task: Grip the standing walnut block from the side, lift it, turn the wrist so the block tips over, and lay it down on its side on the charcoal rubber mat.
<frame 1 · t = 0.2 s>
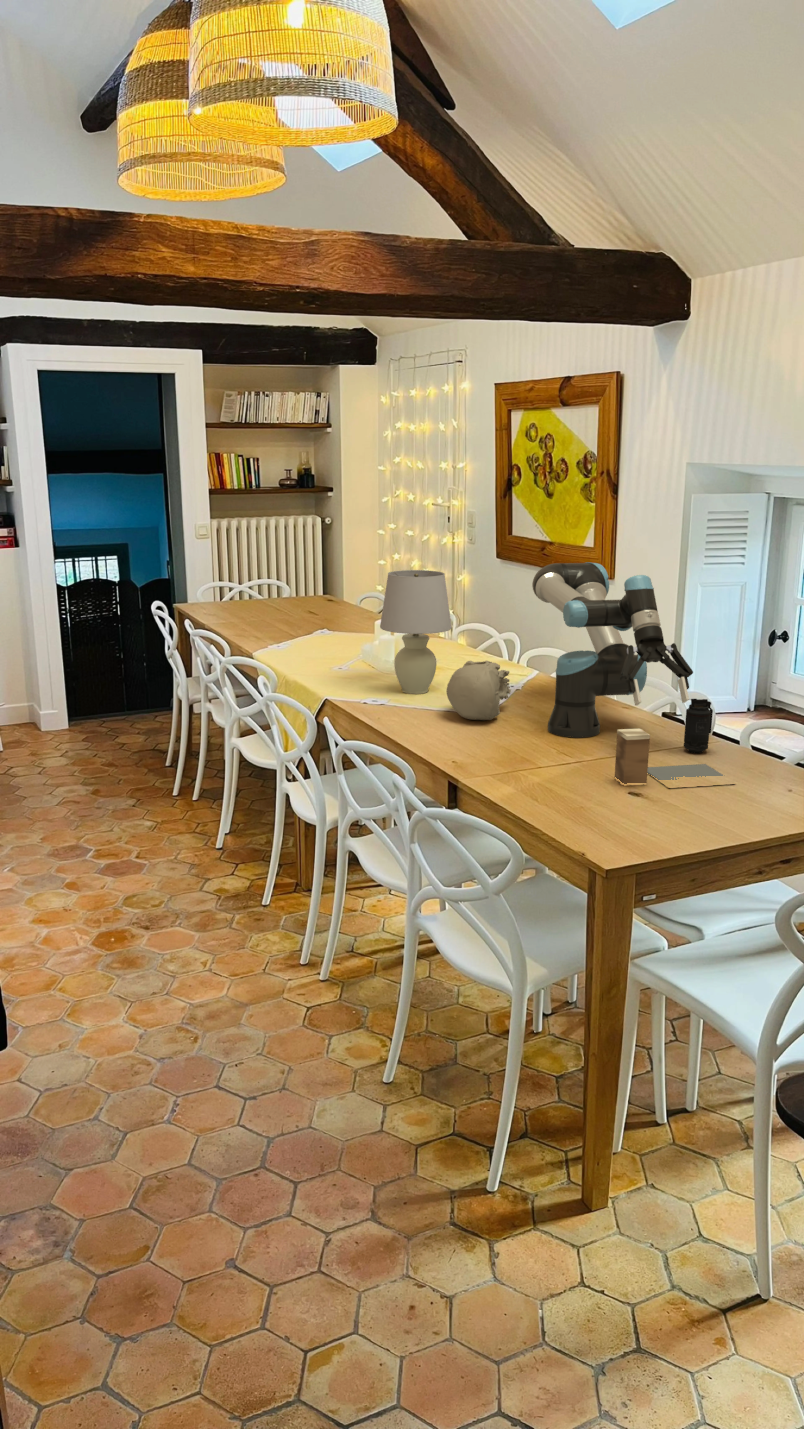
hand: (662, 702, 285), 15 cm above the table, tool tilted 35°, fingers open, 13 cm apart
lamp: (415, 691, 361), on the table
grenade: (696, 752, 294), on the table
block: (630, 782, 267), on the table
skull: (477, 716, 330), on the table
mat: (687, 777, 271), on the table
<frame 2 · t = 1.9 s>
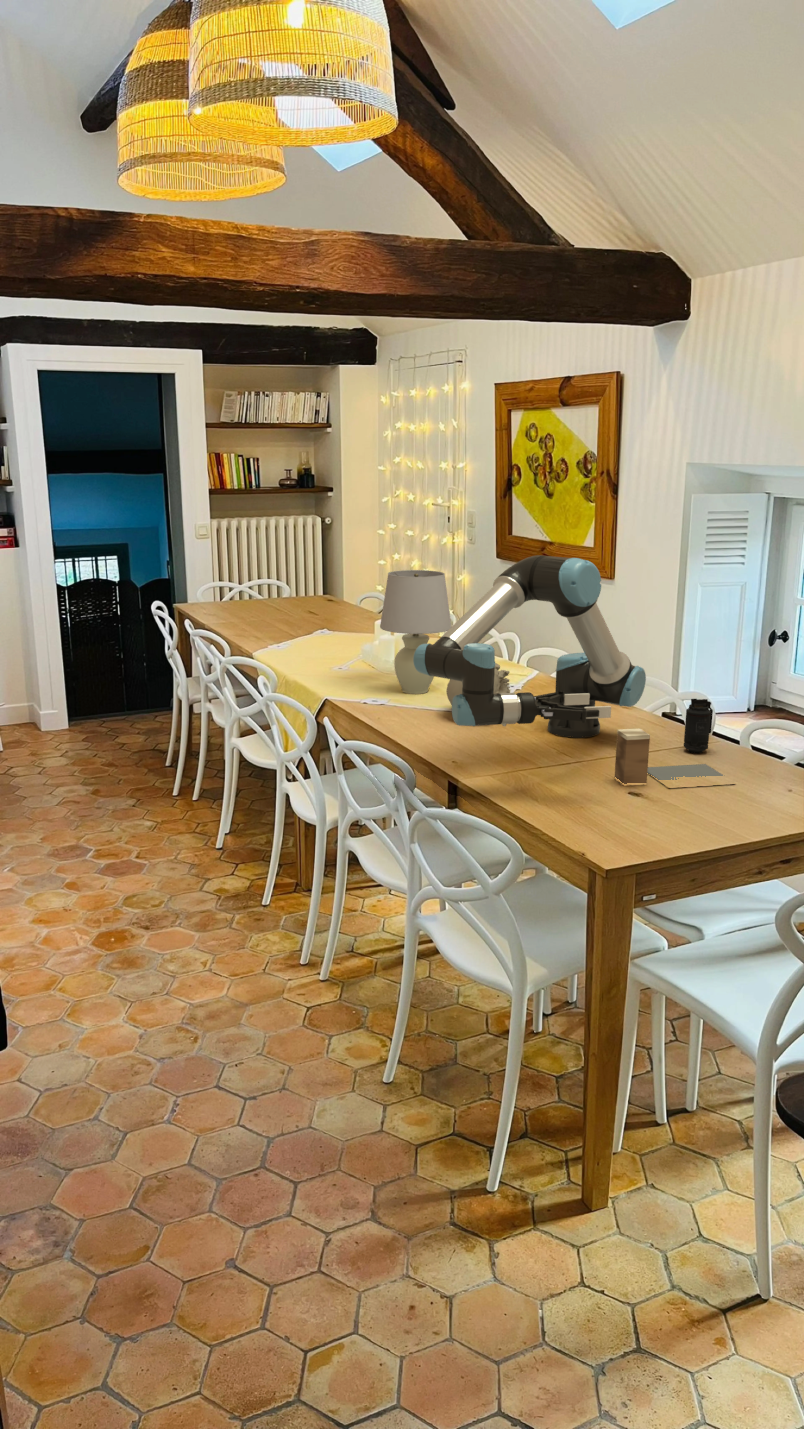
hand: (599, 705, 260), 20 cm above the table, tool horizontal, fingers open, 13 cm apart
nothing on the table moved.
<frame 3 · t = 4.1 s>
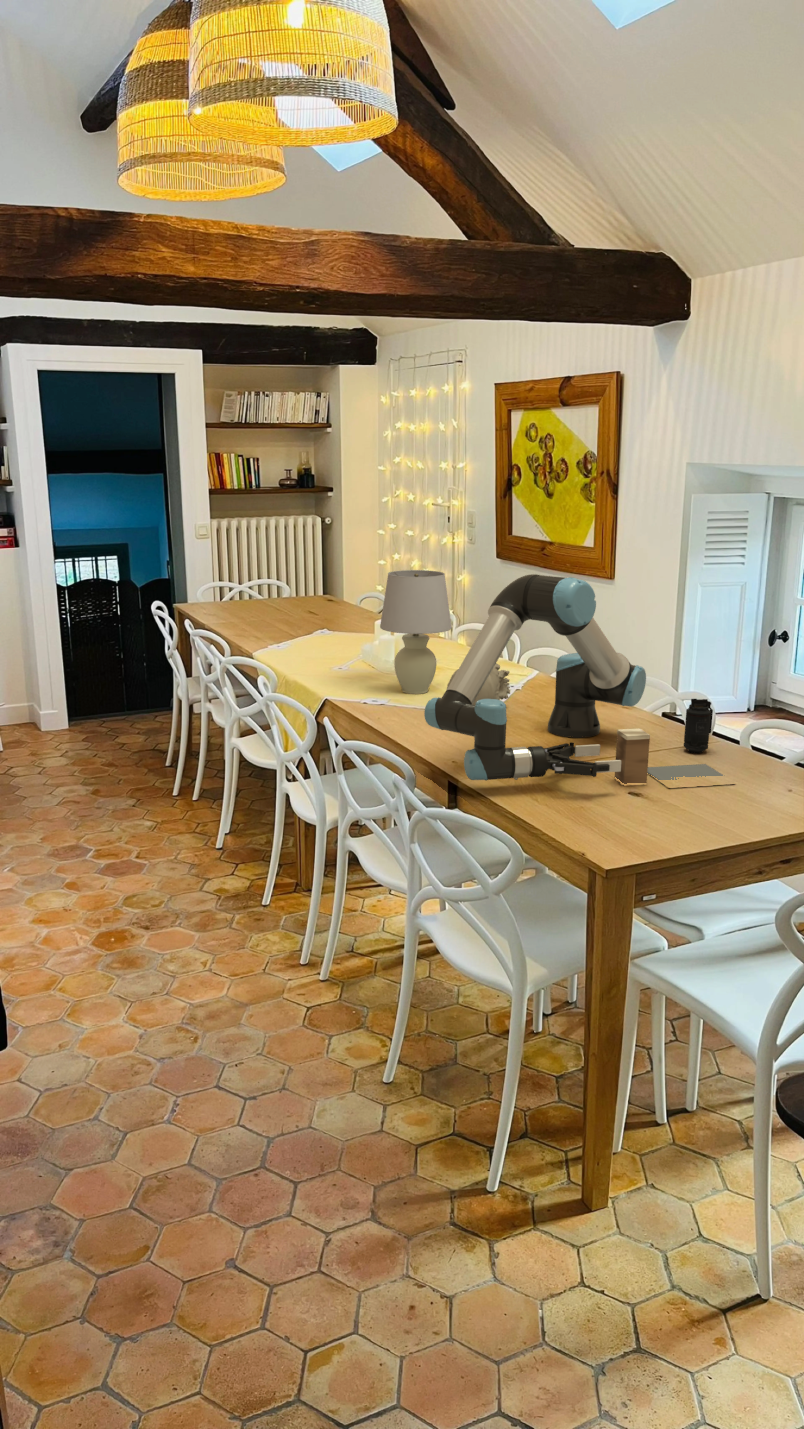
hand: (609, 757, 264), 7 cm above the table, tool horizontal, fingers open, 13 cm apart
nothing on the table moved.
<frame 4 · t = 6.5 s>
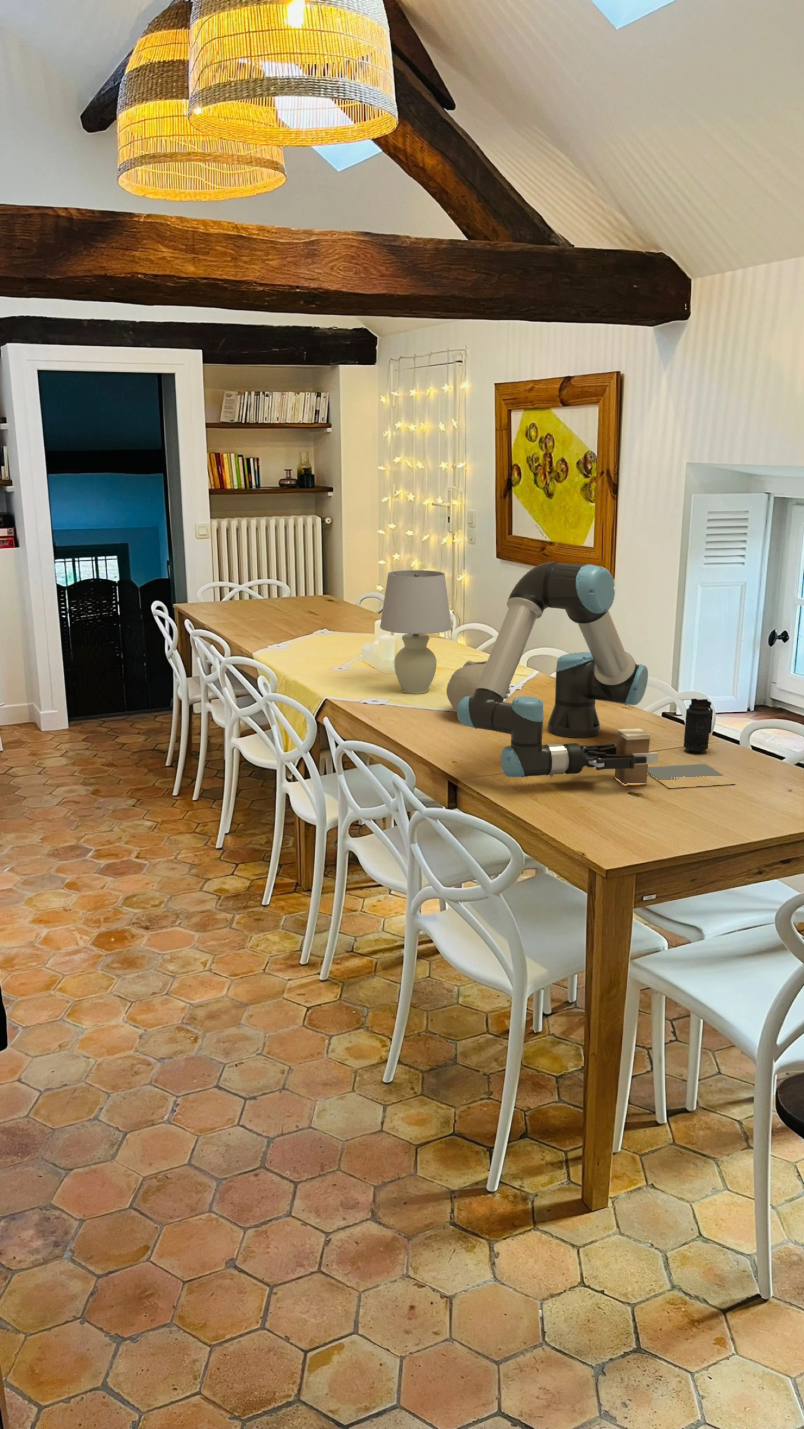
hand: (651, 754, 266), 7 cm above the table, tool horizontal, fingers closed on block, 6 cm apart
block: (630, 782, 267), on the table, touching gripper
everything else where it was.
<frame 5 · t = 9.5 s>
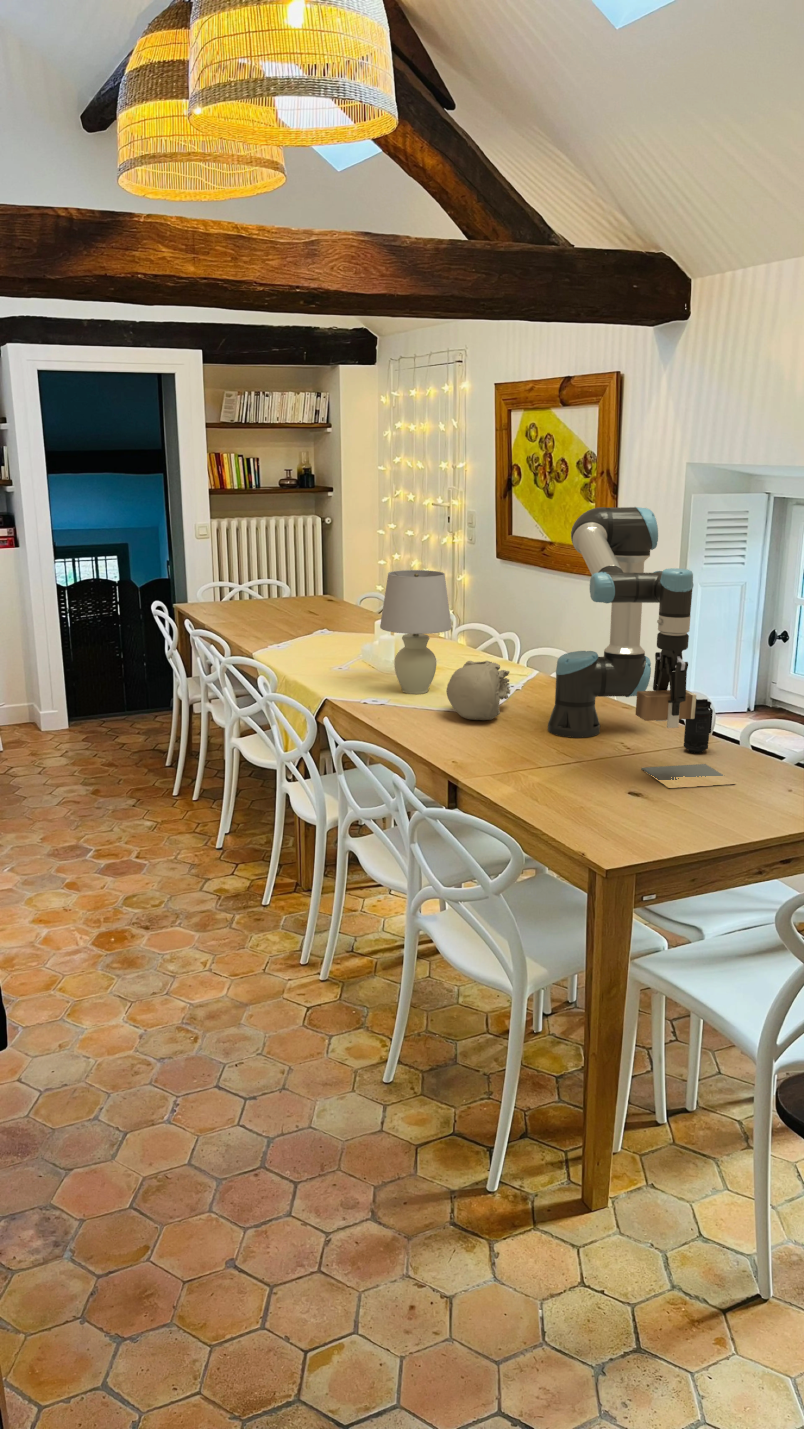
hand: (666, 723, 266), 14 cm above the table, tool pointing down, fingers closed on block, 6 cm apart
block: (641, 706, 264), point 19 cm above the table, tilted 90°, touching gripper
everything else where it was.
when the fingers open (1 cm above the table, at t = 11.9 s): block drops 1 cm, resting on mat.
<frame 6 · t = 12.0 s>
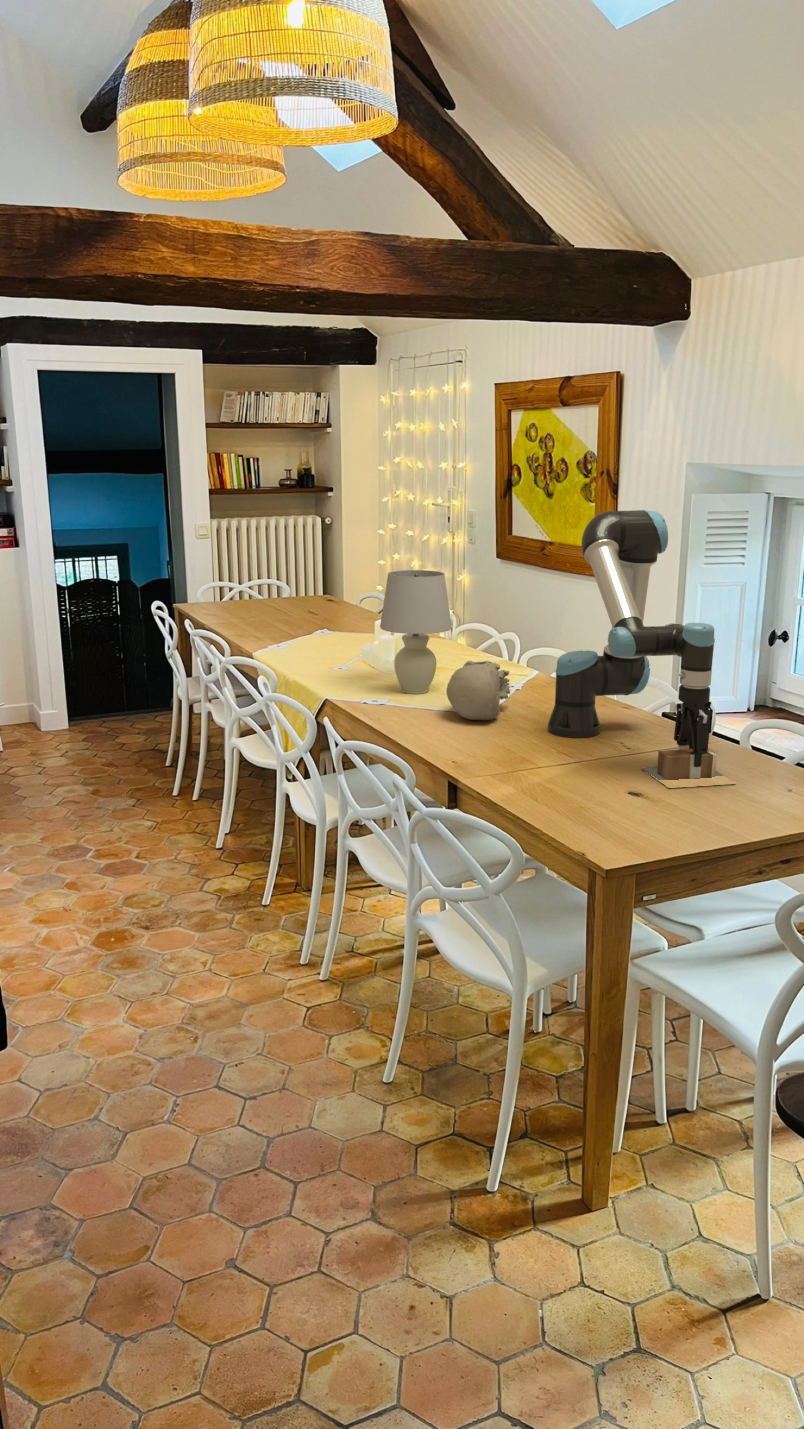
hand: (688, 774, 271), 1 cm above the table, tool pointing down, fingers open, 6 cm apart
block: (662, 765, 269), point 4 cm above the table, tilted 90°, touching mat
everything else where it was.
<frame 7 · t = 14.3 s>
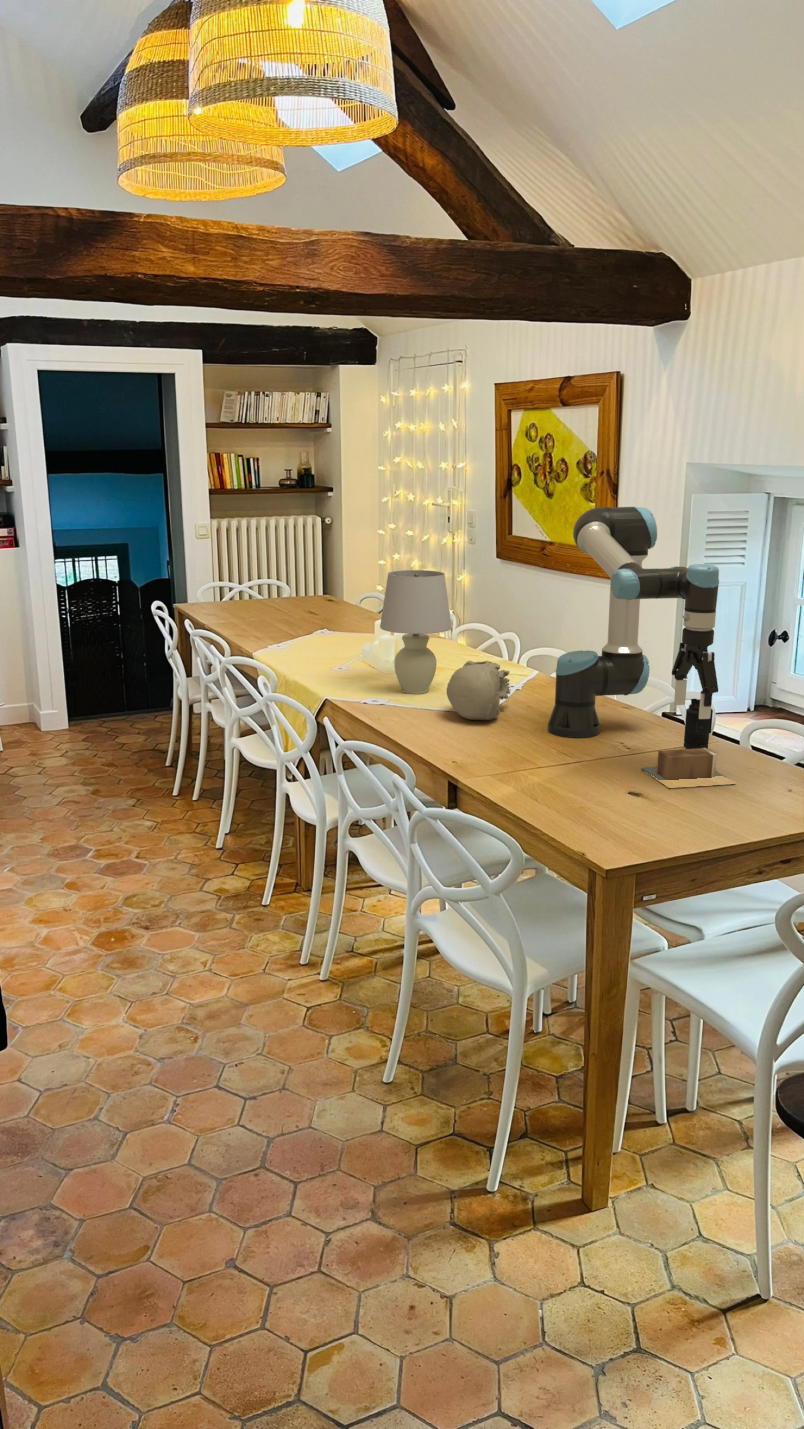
hand: (691, 711, 267), 17 cm above the table, tool pointing down, fingers open, 13 cm apart
nothing on the table moved.
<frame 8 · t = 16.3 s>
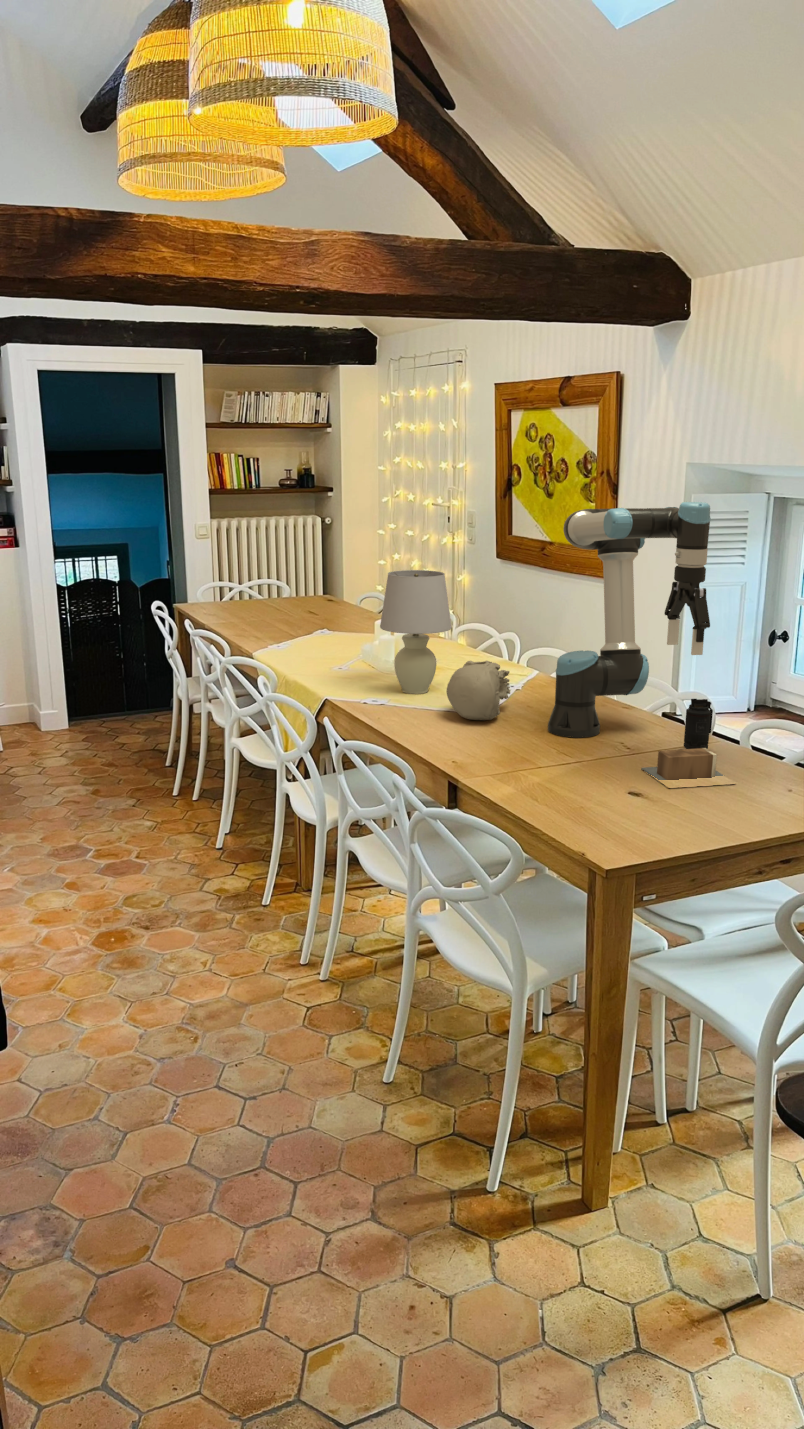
hand: (684, 649, 270), 32 cm above the table, tool pointing down, fingers open, 13 cm apart
nothing on the table moved.
at the end: block tilted 90°; block inside the target area on the mat (7.2 cm from its centre), point 3.6 cm above the mat's base; the gripper is holding nothing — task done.
